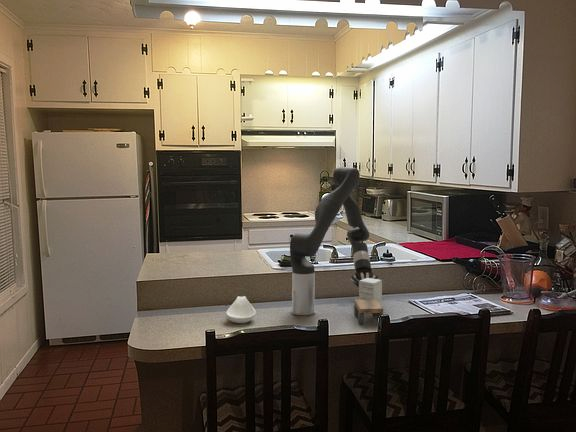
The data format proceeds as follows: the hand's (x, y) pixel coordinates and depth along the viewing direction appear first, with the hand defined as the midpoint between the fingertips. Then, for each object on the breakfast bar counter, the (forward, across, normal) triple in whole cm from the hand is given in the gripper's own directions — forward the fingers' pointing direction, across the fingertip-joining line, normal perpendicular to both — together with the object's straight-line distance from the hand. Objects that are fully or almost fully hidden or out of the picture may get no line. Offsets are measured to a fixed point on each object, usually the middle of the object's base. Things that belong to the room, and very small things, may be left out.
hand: (366, 295), depth 219 cm
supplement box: (+8, 0, -2) cm, 9 cm away
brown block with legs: (+19, -4, -13) cm, 24 cm away
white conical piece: (+14, -55, -8) cm, 57 cm away
